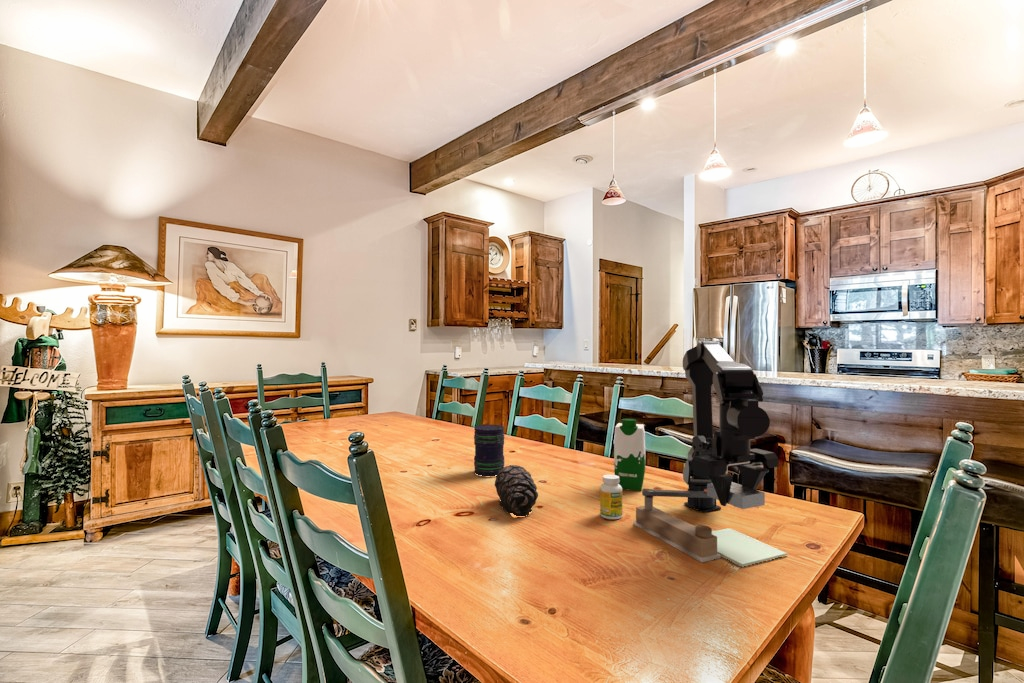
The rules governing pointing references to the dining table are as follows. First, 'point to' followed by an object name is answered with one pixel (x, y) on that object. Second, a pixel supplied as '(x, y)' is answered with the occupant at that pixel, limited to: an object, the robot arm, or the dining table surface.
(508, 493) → the pine cone
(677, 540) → the body
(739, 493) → the flat grey slab block
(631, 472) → the milk carton
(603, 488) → the supplement bottle
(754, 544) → the mat
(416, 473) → the dining table surface
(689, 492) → the lever
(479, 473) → the storage jar
